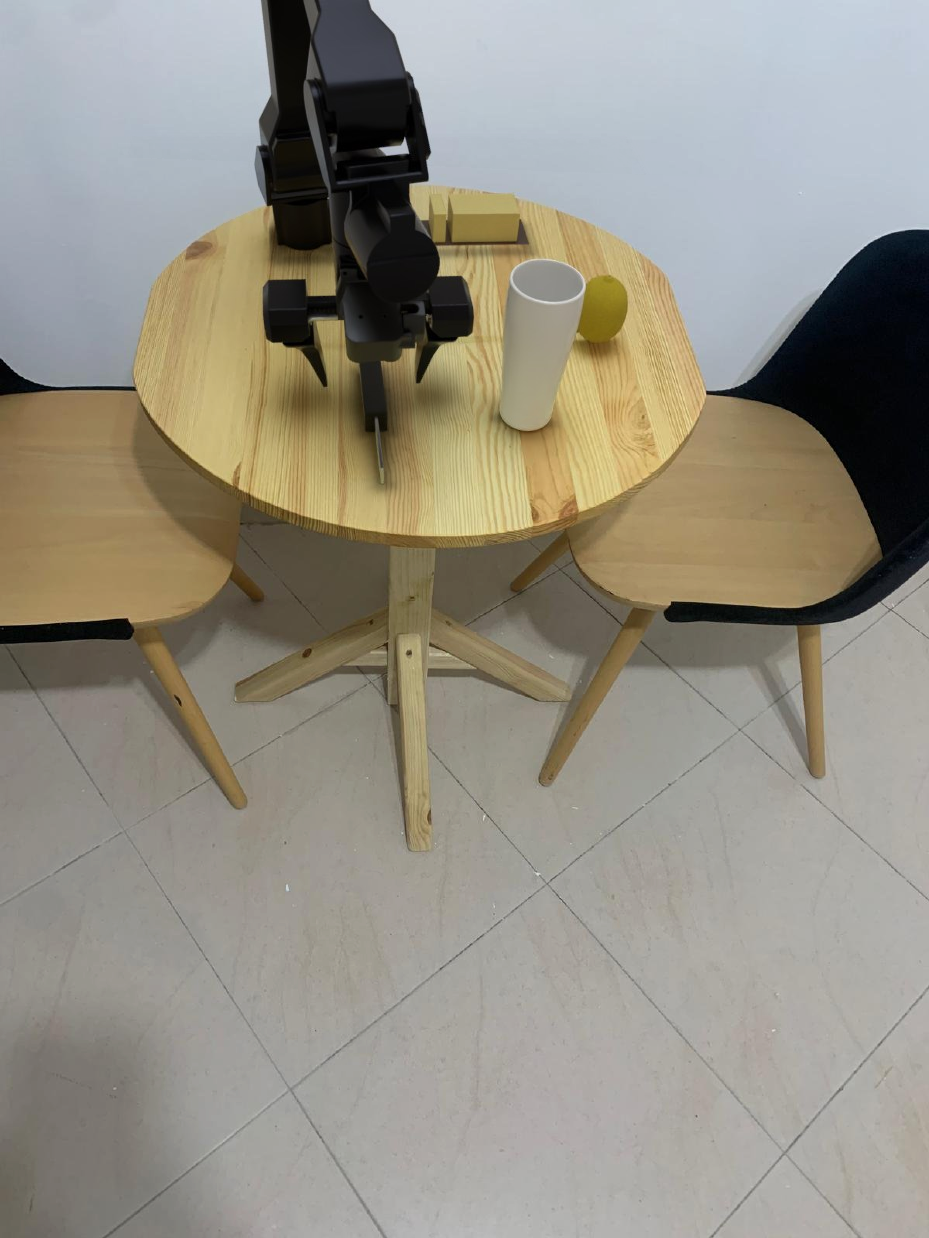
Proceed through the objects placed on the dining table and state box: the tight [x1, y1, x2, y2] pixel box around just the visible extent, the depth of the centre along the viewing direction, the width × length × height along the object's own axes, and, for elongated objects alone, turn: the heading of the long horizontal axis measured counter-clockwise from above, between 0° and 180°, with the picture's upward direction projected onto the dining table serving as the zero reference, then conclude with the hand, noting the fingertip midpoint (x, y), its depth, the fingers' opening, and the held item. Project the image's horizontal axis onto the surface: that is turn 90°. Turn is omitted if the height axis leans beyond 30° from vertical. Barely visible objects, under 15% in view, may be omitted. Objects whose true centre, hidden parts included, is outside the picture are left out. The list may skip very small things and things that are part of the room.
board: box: [420, 218, 530, 247], centre depth 95 cm, size 16×6×1 cm, turn 98°
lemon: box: [577, 274, 629, 344], centre depth 82 cm, size 6×6×8 cm
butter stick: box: [446, 192, 521, 242], centre depth 93 cm, size 8×4×4 cm, turn 98°
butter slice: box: [428, 193, 447, 243], centre depth 92 cm, size 2×4×4 cm, turn 8°
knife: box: [358, 361, 389, 485], centre depth 75 cm, size 2×16×2 cm, turn 8°
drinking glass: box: [498, 258, 587, 432], centre depth 72 cm, size 7×7×15 cm
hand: (371, 382), depth 77 cm, fingers open, 9 cm apart
